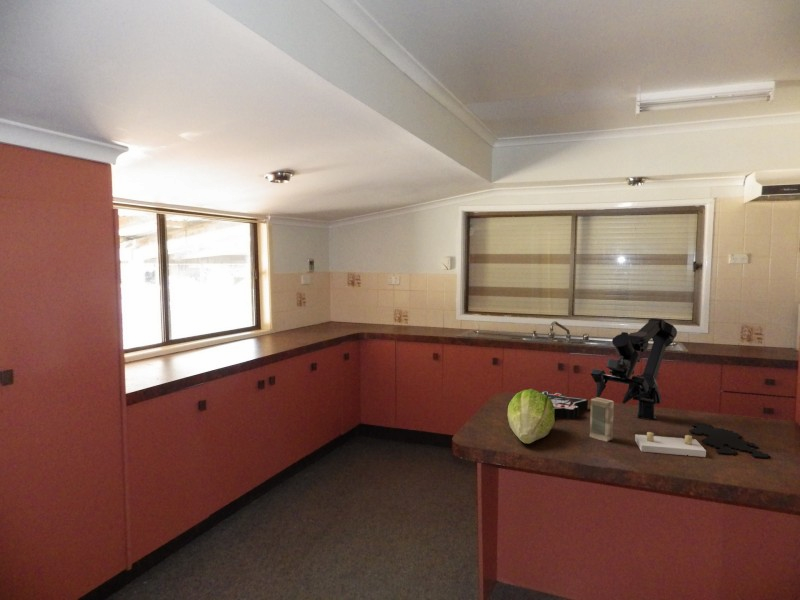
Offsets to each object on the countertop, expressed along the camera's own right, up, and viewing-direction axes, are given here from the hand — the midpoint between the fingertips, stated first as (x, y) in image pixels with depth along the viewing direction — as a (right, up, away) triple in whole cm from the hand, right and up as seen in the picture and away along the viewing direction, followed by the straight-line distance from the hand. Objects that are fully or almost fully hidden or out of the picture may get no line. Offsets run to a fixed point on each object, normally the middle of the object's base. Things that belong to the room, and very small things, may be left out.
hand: (609, 400), depth 171 cm
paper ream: (-4, -12, -3) cm, 13 cm away
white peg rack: (+14, -13, -12) cm, 22 cm away
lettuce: (-28, -13, 0) cm, 30 cm away
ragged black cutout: (+35, -13, -5) cm, 38 cm away
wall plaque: (-13, -11, +28) cm, 33 cm away
